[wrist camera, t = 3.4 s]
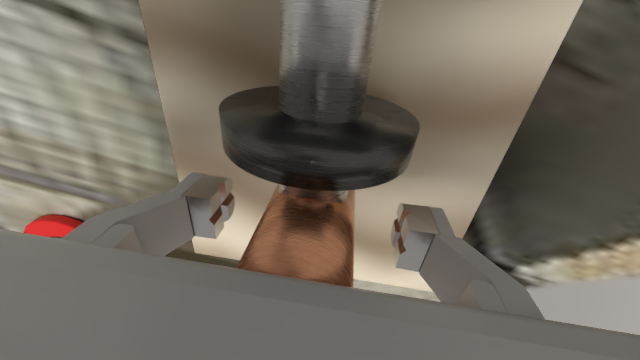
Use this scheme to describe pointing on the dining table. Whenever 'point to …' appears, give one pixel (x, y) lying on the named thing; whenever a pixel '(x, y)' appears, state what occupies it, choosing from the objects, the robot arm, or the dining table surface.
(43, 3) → the dining table surface
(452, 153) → the base board
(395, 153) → the flanged metal rod
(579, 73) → the dining table surface
